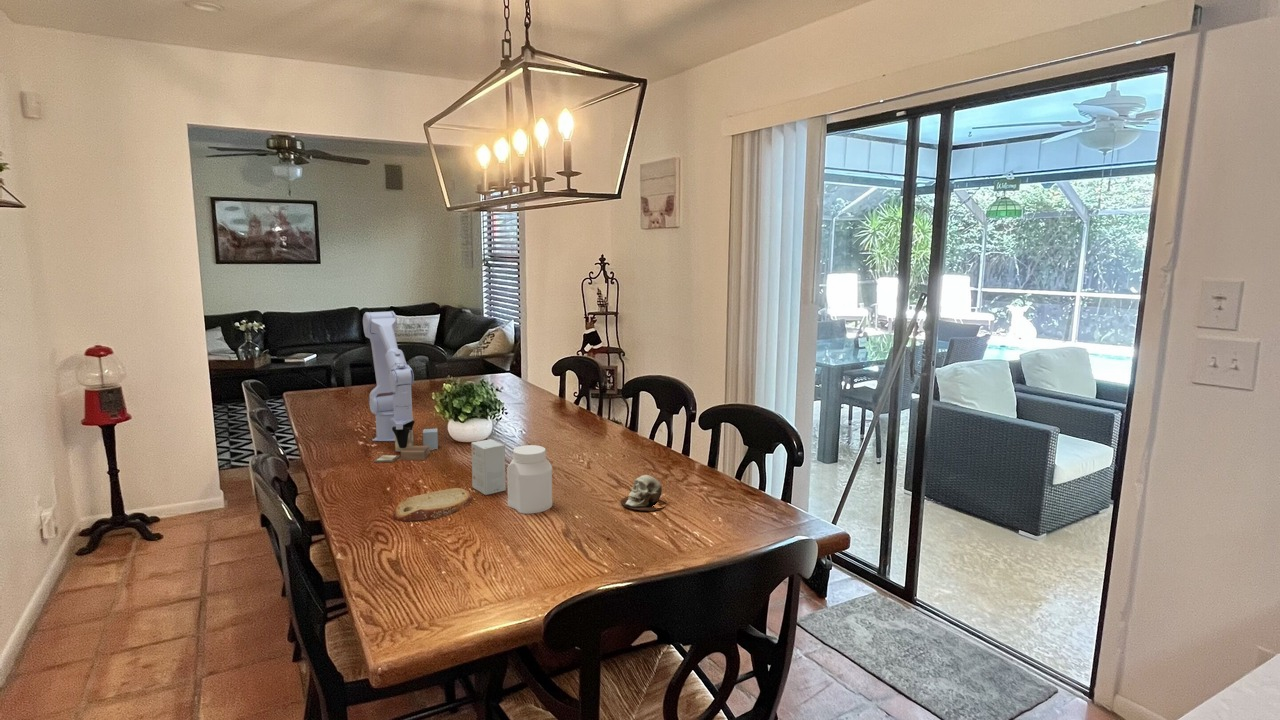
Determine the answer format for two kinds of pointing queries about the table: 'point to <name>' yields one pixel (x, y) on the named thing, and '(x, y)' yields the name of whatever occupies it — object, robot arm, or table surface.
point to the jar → (529, 480)
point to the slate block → (430, 438)
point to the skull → (643, 494)
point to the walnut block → (415, 452)
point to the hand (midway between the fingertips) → (404, 445)
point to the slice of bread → (432, 505)
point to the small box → (488, 466)
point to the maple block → (409, 442)
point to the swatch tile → (387, 458)
